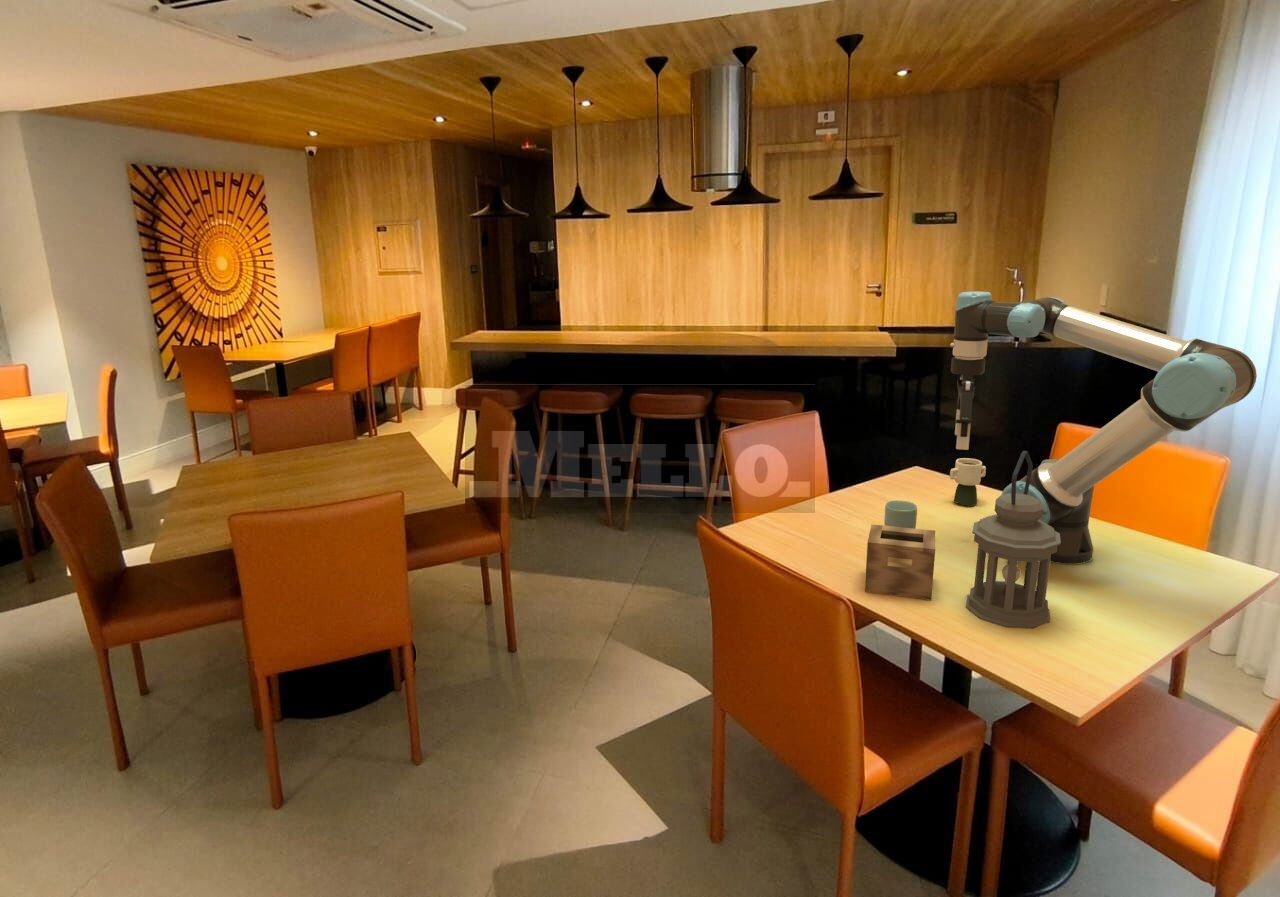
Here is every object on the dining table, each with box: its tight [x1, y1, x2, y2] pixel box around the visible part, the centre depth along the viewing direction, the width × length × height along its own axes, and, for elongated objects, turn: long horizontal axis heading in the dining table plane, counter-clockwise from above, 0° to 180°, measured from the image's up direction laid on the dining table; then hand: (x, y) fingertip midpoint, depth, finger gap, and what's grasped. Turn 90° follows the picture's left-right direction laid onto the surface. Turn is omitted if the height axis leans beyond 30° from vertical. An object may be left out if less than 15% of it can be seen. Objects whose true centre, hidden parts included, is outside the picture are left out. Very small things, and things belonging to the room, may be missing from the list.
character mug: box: [949, 457, 987, 507], centre depth 218 cm, size 11×7×13 cm, turn 98°
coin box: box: [864, 523, 936, 601], centre depth 170 cm, size 14×11×12 cm
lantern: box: [964, 450, 1061, 630], centre depth 155 cm, size 17×17×35 cm
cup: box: [883, 500, 918, 529], centre depth 194 cm, size 8×8×10 cm
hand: (961, 441), depth 187 cm, fingers open, 13 cm apart
